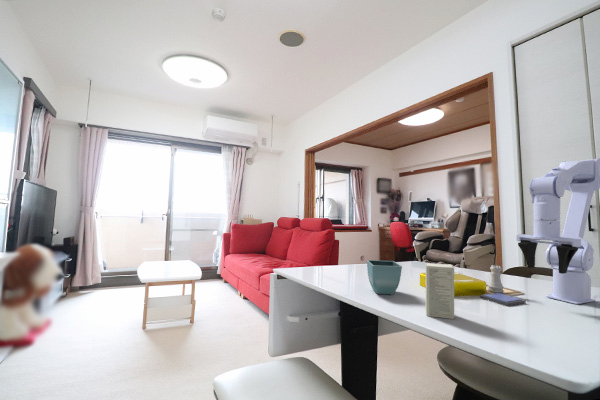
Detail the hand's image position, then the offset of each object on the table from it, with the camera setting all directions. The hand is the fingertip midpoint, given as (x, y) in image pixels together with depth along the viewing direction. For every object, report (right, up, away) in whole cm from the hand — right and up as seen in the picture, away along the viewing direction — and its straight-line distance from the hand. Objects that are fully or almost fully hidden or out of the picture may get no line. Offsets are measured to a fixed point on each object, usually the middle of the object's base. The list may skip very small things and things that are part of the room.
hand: (546, 270), depth 84 cm
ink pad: (-9, -10, +5) cm, 14 cm away
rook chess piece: (-6, -10, +12) cm, 17 cm away
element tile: (-18, -10, +16) cm, 26 cm away
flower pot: (-42, -9, +10) cm, 44 cm away
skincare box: (-33, -9, -9) cm, 36 cm away
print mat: (-4, -10, +16) cm, 19 cm away
